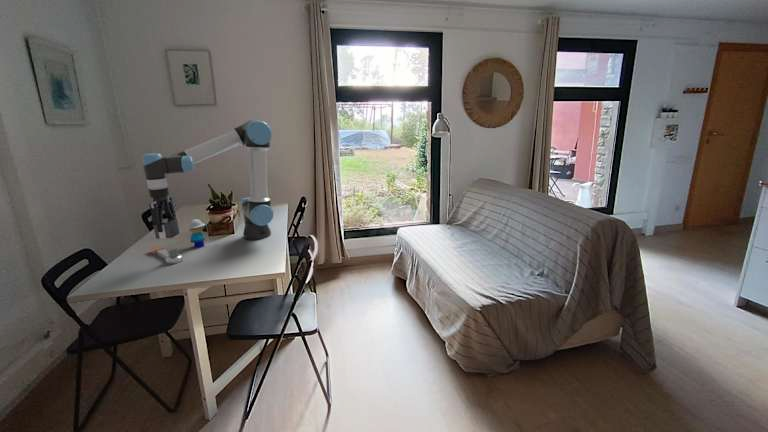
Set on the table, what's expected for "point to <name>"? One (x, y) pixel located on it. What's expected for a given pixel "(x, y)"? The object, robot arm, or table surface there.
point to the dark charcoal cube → (168, 228)
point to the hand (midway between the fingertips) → (168, 235)
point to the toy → (197, 232)
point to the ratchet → (167, 254)
